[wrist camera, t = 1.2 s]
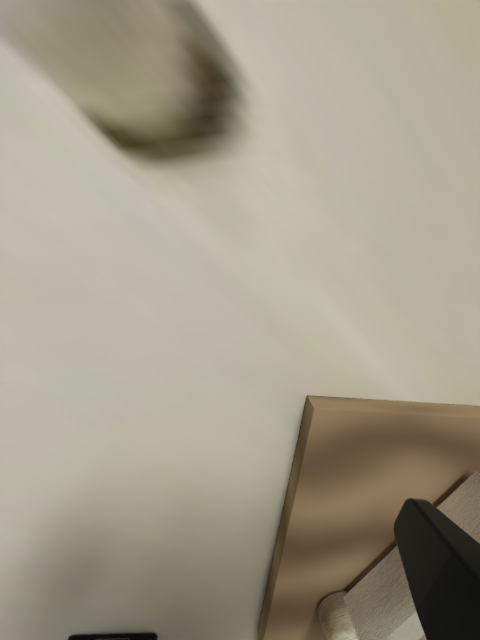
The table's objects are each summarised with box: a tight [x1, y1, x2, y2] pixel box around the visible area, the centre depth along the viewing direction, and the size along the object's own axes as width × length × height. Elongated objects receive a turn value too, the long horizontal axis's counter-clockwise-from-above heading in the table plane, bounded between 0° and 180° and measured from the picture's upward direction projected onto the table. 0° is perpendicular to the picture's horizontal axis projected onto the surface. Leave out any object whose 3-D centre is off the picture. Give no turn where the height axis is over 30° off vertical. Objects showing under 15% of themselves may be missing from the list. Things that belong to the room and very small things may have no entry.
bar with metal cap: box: [318, 471, 480, 640], centre depth 23 cm, size 16×5×6 cm, turn 143°
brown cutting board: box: [258, 396, 480, 640], centre depth 27 cm, size 21×21×2 cm
